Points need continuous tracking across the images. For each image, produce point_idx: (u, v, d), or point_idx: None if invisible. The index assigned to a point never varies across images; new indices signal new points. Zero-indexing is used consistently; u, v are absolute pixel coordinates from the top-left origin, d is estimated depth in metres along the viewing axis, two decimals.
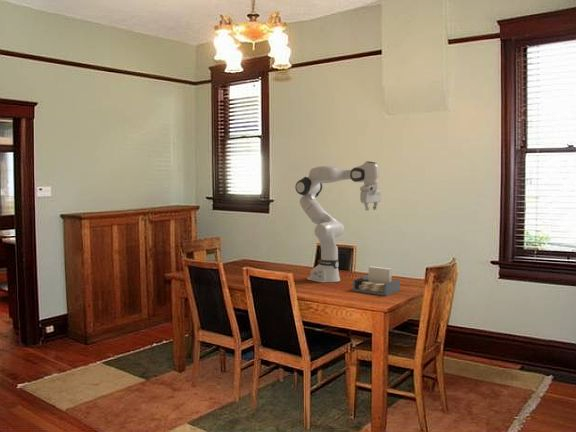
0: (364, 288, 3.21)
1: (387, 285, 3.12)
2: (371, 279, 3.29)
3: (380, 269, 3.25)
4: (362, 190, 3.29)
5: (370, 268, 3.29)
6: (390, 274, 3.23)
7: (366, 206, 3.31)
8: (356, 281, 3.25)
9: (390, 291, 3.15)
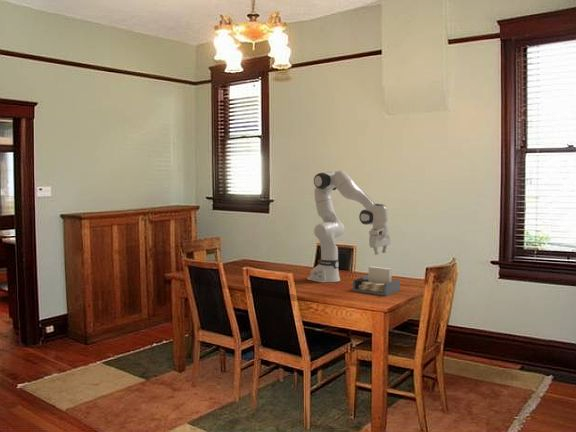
0: (364, 288, 3.21)
1: (387, 285, 3.12)
2: (371, 279, 3.29)
3: (380, 269, 3.25)
4: (371, 234, 3.19)
5: (370, 268, 3.29)
6: (390, 274, 3.23)
7: (375, 250, 3.21)
8: (356, 281, 3.25)
9: (390, 291, 3.15)
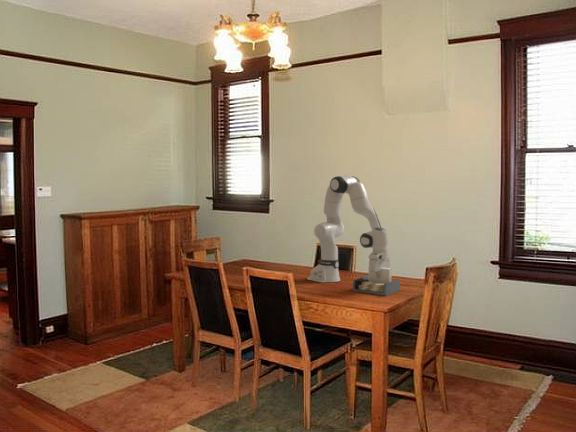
0: (364, 288, 3.21)
1: (387, 285, 3.12)
2: (371, 279, 3.29)
3: None
4: (371, 258, 3.20)
5: None
6: (390, 274, 3.23)
7: (377, 274, 3.24)
8: (356, 281, 3.25)
9: (390, 291, 3.15)
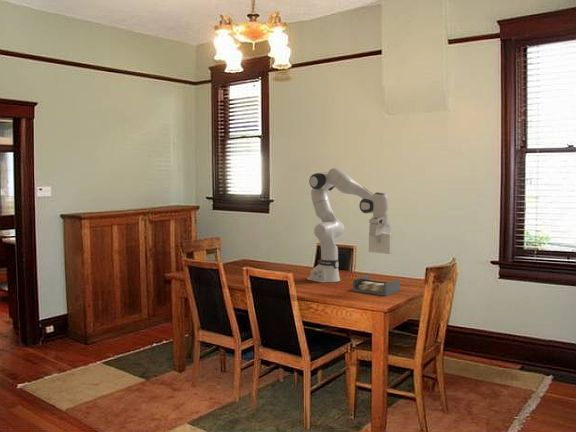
0: (364, 288, 3.21)
1: (387, 285, 3.12)
2: (371, 244, 3.28)
3: None
4: (371, 223, 3.19)
5: None
6: (391, 239, 3.21)
7: (377, 239, 3.23)
8: (356, 281, 3.25)
9: (390, 291, 3.15)
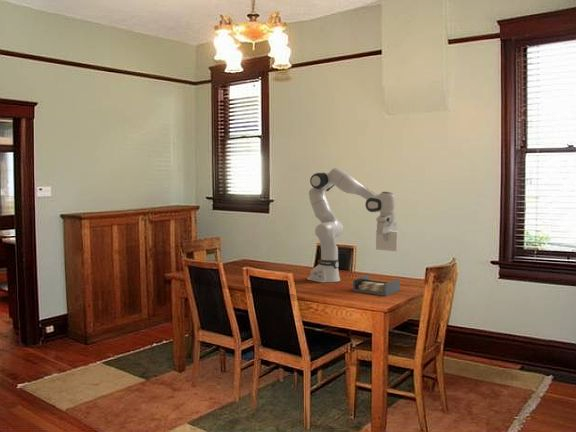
0: (364, 288, 3.21)
1: (387, 285, 3.12)
2: (378, 242, 3.37)
3: None
4: (379, 221, 3.28)
5: None
6: (397, 236, 3.31)
7: (384, 236, 3.32)
8: (356, 281, 3.25)
9: (390, 291, 3.15)
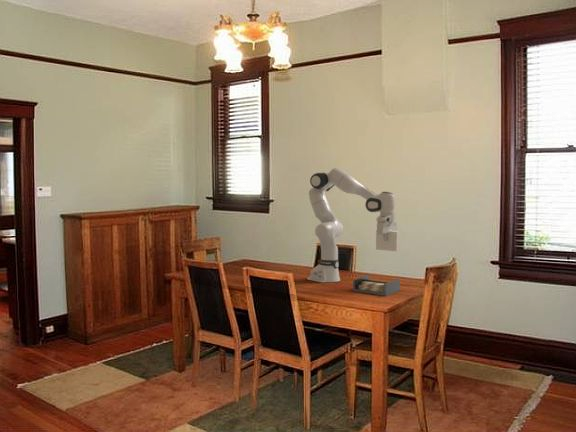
0: (364, 288, 3.21)
1: (387, 285, 3.12)
2: (378, 242, 3.37)
3: None
4: (379, 221, 3.28)
5: None
6: (397, 236, 3.31)
7: (384, 236, 3.32)
8: (356, 281, 3.25)
9: (390, 291, 3.15)
